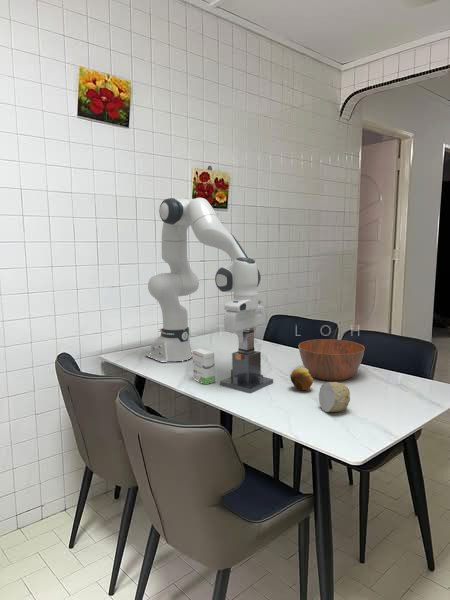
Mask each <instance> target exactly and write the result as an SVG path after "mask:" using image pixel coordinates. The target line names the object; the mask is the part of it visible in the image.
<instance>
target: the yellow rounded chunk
mask: <svg viewBox="0 0 450 600" xmlns="http://www.w3.org/2000/svg"><path fill="white" fill-rule="evenodd" d="M318 400H319V405H320V408H321V410H322V412H325V413H335V412H342V411H344V410H346V409H347V408H348V406H349V403H350V402H351V393H350V389H349V388H348V386H346V385H345V384H344V383H341V382H339V381H329V382H328V381H327V382H324V383H322V385H320V387H319V393H318Z"/></svg>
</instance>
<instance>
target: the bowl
mask: <svg viewBox="0 0 450 600" xmlns="http://www.w3.org/2000/svg"><path fill="white" fill-rule="evenodd" d="M297 346H298V350H299V355H300V358H301V362H302V364H303V366H304V367H303V368H306V369H308V371H309V374H310V375H311V377H312V378H316V379H318V380H322V381H327V382H328V381H329V382H340V381H345V380H348V379H351V378H353V376H355V375H356V374H357V372H358V370H359V368H360V367H361V364H362V360H363V357H364V354H365V350H366V349H365V346H364V345H363V344H360V343H358V342H355V341H349V340H345V339H335V338H334V339H332V338H331V339H330V338H329V339H328V338H326V339H325V338H324V339H323V338H319V339H309V340H306V341H305V340H304V341H302V342H299V344H298V345H297Z"/></svg>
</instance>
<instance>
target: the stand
mask: <svg viewBox="0 0 450 600" xmlns="http://www.w3.org/2000/svg"><path fill="white" fill-rule="evenodd" d="M261 354H262V353H261V351H257V350H254V353H253V354H250V355H244V354H240V353H239V351H238V350H237V351H234V352H232V353H231V361H232V364H231V365H232V366H231V367H232V369H230V377H227V378H225V379H223V380H220V381H219V386H221V385H222V386H221V387H226V388H228V389H233V390H237V391H240V392H244V393H248V394H252V393H254V392H256V391H259V390H261V389H263V388H265V387H268V386H270V385H273V384H274V379H273V378H270V377H266V376H264V375H263V374H262V369H261V368H262V366H261V365H262V363H261V359H262V357H261Z"/></svg>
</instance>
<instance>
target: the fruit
mask: <svg viewBox="0 0 450 600" xmlns="http://www.w3.org/2000/svg"><path fill="white" fill-rule="evenodd" d="M289 378H290V381H291V383H292V385H293V386H294V387H295V388H296V389H298V390H299V391H300V392H301V391H302V392H304V391H307V390H309V389H310V388H311V387H312V385H313V383H314V377H313V376H311V375H310V374H309V371H308V369H306V368H305V367H303V366H301V367H297V368H295V369H294V370H293V371H292V372H291V374H290V377H289Z"/></svg>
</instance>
